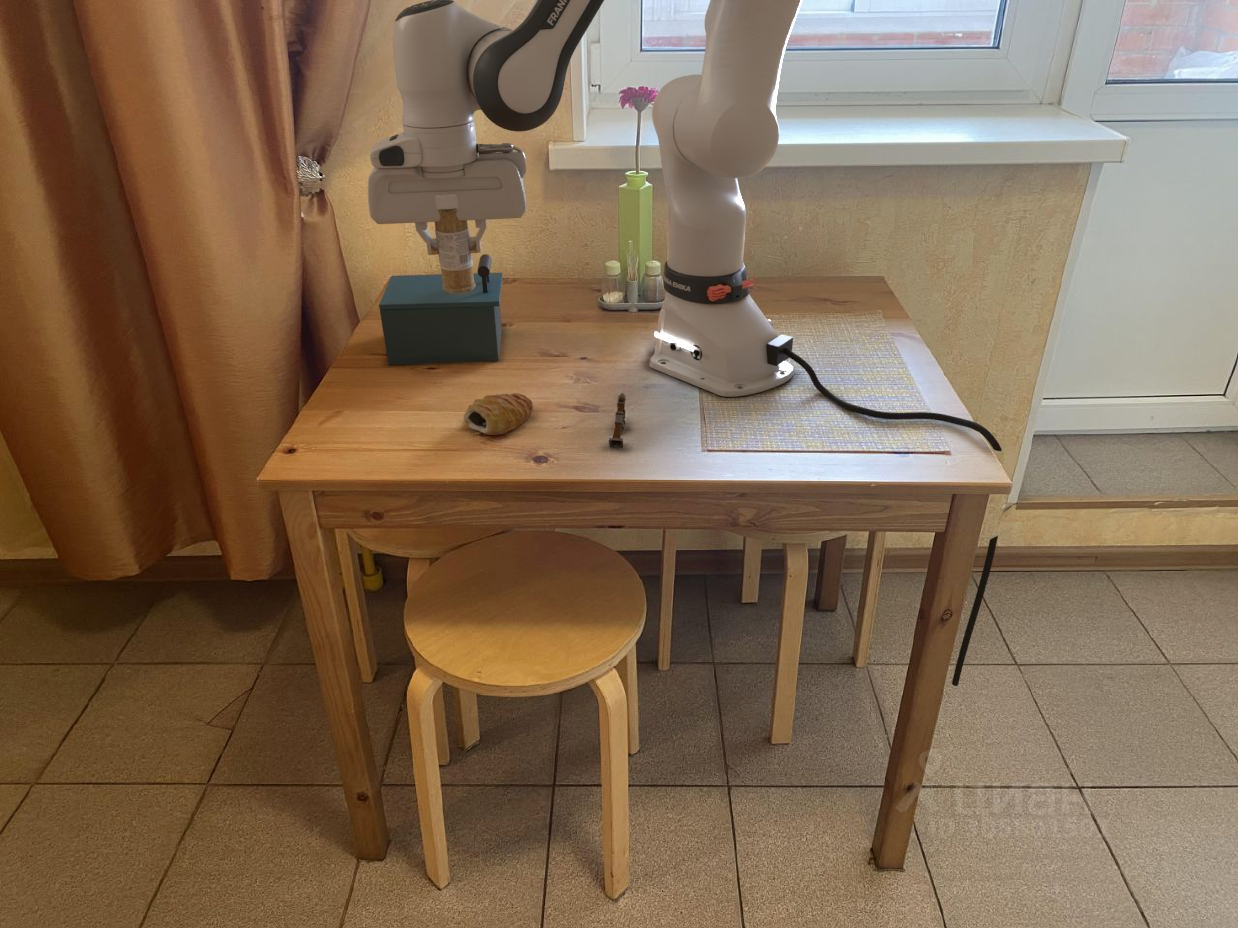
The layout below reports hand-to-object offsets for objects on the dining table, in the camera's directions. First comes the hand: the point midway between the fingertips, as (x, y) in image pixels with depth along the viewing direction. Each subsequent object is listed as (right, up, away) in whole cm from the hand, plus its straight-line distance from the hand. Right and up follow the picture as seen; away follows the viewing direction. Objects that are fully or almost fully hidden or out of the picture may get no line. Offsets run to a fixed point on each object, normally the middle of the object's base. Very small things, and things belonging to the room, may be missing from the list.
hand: (454, 252), depth 118 cm
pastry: (+6, -23, -1) cm, 24 cm away
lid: (-5, -2, +16) cm, 17 cm away
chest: (-5, -10, +21) cm, 23 cm away
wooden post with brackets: (+22, -25, -4) cm, 33 cm away
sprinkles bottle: (0, -5, +3) cm, 5 cm away
